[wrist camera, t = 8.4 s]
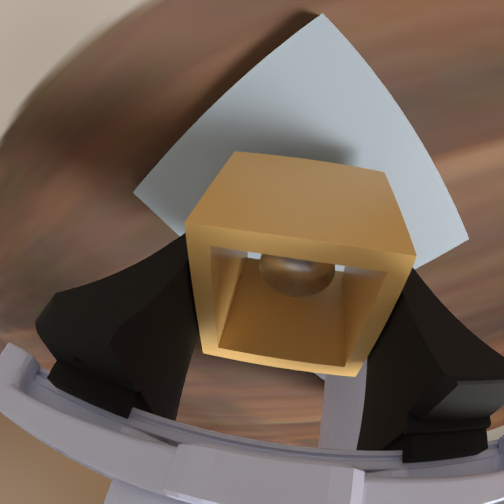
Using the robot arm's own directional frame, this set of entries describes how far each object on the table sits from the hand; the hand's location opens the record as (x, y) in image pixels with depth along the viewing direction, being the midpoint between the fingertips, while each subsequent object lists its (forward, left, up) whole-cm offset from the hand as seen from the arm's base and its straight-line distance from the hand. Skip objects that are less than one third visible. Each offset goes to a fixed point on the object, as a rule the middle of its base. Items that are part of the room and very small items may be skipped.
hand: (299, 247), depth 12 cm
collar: (0, 0, -1) cm, 1 cm away
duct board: (0, 0, -4) cm, 4 cm away
